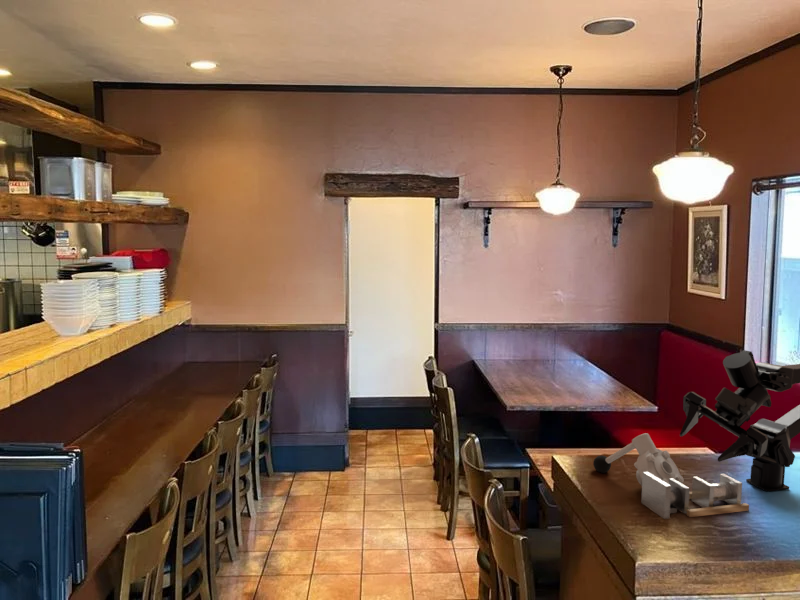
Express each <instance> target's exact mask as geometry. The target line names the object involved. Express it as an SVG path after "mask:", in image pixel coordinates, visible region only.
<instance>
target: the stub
mask: <svg viewBox="0 0 800 600" xmlns="http://www.w3.org/2000/svg"><path fill="white" fill-rule="evenodd" d="M690 489H691V487H688V486H687V485H685V484H684V483H680V482H679V481H677V480H675V479H673V478H671V479H669V484H667V483H666V482H664V481H662V480H661V479H659V478H657V477H656V476H654V475H652V474H651V473H649V472H643V478H642V486H641V500H640V501H641V502H640V503H641V504H642V505H643V506H645V507H647V508H648V510H649V509H650V511H652V512H654V513H655V514H657V515H658V516H659V517H661V518H662V519H664V520H666V519H670V514H677V512H678V511H680V513H683V514H687V510H688V509H690V508H689V507H690V506H689V505H690V499H689V493H690V492H691V491H690Z"/></svg>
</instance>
